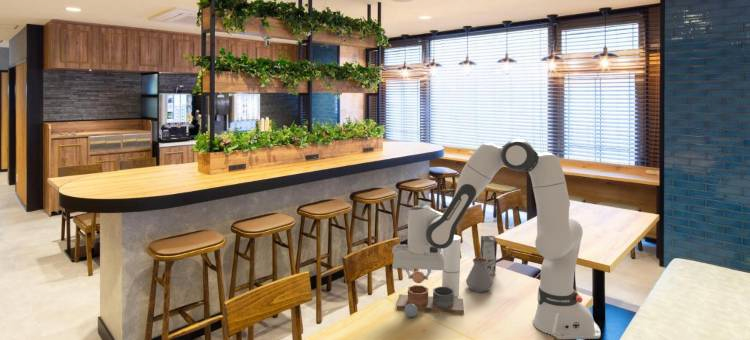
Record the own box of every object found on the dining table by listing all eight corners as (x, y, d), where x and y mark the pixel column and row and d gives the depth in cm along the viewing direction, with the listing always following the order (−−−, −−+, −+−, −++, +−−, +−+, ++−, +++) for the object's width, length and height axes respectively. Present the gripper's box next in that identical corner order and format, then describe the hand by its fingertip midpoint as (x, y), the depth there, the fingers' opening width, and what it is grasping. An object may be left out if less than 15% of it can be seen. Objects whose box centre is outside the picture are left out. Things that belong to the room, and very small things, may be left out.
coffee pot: (472, 295, 189) (473, 261, 186) (461, 283, 200) (462, 251, 197) (518, 290, 193) (520, 257, 190) (506, 280, 204) (507, 248, 201)
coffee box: (495, 275, 209) (497, 241, 207) (481, 274, 210) (483, 241, 207) (492, 267, 218) (494, 235, 215) (479, 267, 219) (480, 235, 216)
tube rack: (463, 302, 182) (463, 287, 181) (463, 314, 173) (464, 298, 172) (399, 297, 186) (399, 283, 185) (396, 309, 177) (396, 293, 176)
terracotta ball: (424, 280, 181) (425, 268, 180) (424, 285, 176) (424, 273, 175) (412, 279, 181) (412, 268, 181) (411, 284, 177) (411, 272, 176)
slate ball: (417, 313, 173) (418, 301, 172) (417, 320, 168) (417, 307, 167) (405, 312, 174) (405, 300, 173) (403, 319, 169) (403, 306, 168)
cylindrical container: (458, 290, 193) (460, 234, 189) (459, 297, 186) (461, 240, 182) (441, 289, 194) (442, 234, 190) (442, 297, 187) (443, 239, 183)
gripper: (391, 246, 175) (391, 280, 177) (444, 249, 171) (443, 283, 174) (393, 241, 181) (393, 273, 183) (444, 244, 178) (443, 277, 180)
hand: (418, 278), depth 178 cm, fingers closed on terracotta ball, 5 cm apart
